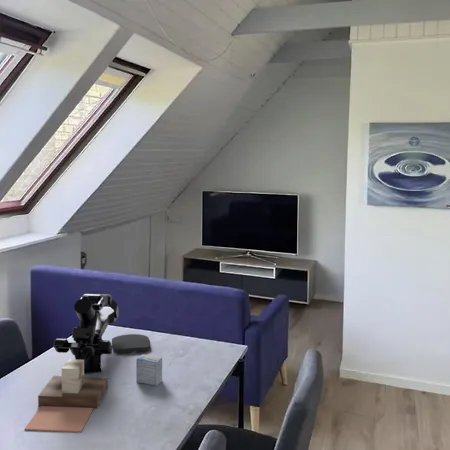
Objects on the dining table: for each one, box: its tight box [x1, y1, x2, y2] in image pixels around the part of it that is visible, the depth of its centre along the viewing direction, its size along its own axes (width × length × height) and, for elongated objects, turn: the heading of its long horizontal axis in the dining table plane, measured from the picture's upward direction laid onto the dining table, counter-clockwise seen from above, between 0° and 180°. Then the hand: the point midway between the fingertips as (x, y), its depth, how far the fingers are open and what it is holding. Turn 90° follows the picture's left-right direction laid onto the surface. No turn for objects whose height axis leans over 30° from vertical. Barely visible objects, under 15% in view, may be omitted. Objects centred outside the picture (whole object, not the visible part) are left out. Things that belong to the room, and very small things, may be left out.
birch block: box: [61, 358, 85, 393], centre depth 166 cm, size 7×5×8 cm
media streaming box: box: [111, 333, 152, 355], centre depth 210 cm, size 15×15×3 cm
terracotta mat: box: [24, 406, 94, 433], centre depth 154 cm, size 13×16×1 cm
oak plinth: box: [37, 375, 109, 410], centre depth 168 cm, size 14×18×4 cm
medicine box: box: [135, 353, 163, 387], centre depth 179 cm, size 8×4×9 cm, turn 71°
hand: (78, 371), depth 171 cm, fingers closed
